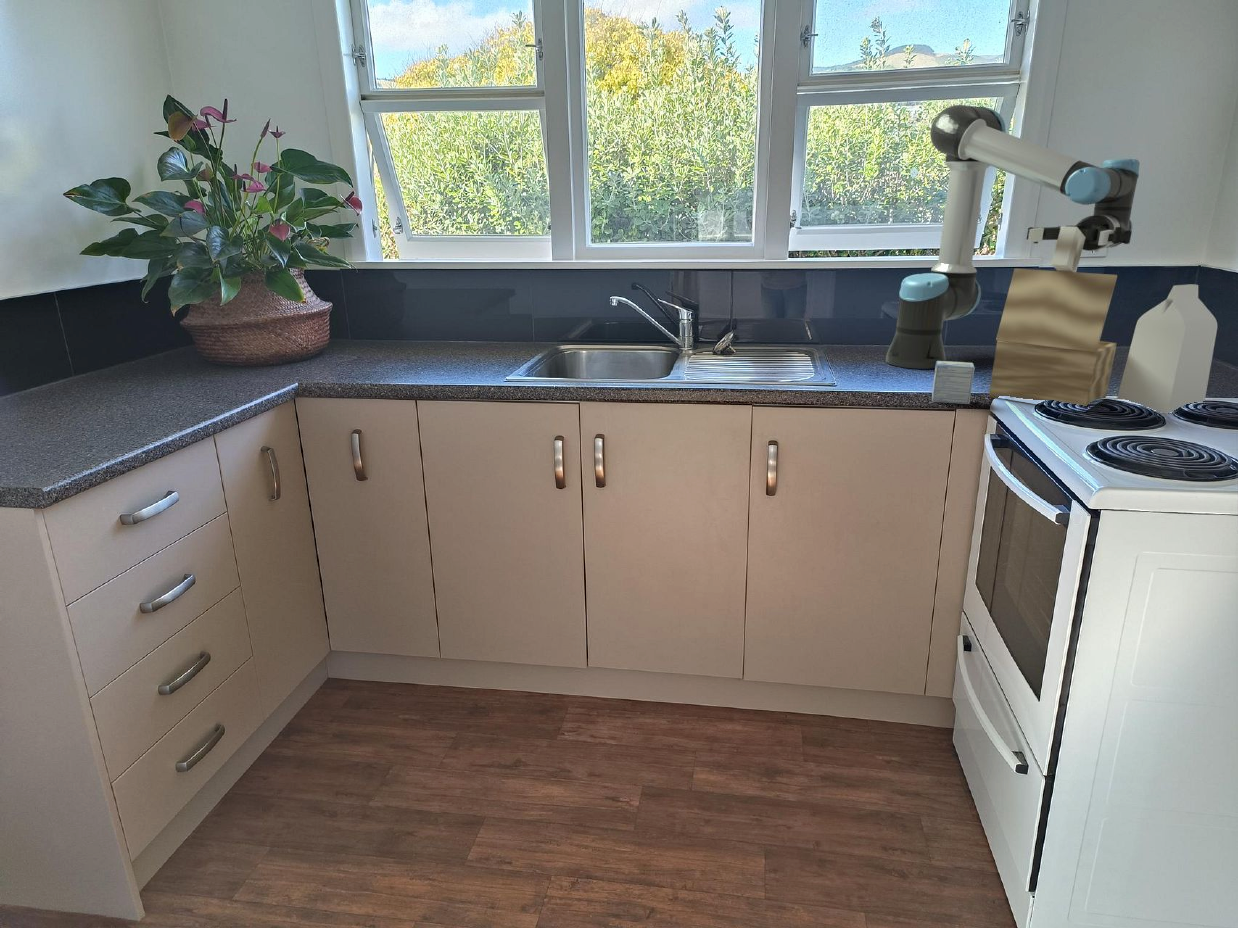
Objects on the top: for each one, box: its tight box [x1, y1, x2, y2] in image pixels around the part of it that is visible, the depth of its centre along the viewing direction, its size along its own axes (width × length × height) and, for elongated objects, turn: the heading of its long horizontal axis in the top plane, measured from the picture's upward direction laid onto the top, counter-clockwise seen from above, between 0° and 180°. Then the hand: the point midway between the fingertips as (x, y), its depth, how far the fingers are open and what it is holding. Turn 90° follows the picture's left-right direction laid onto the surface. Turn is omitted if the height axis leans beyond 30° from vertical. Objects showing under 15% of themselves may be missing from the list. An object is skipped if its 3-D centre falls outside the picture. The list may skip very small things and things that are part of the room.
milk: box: [1116, 283, 1218, 415], centre depth 173 cm, size 12×12×26 cm
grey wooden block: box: [931, 360, 975, 405], centre depth 180 cm, size 8×4×9 cm, turn 71°
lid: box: [995, 225, 1118, 353], centre depth 171 cm, size 24×20×8 cm
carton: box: [988, 340, 1118, 406], centre depth 181 cm, size 16×20×13 cm
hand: (1064, 237), depth 167 cm, fingers open, 13 cm apart
